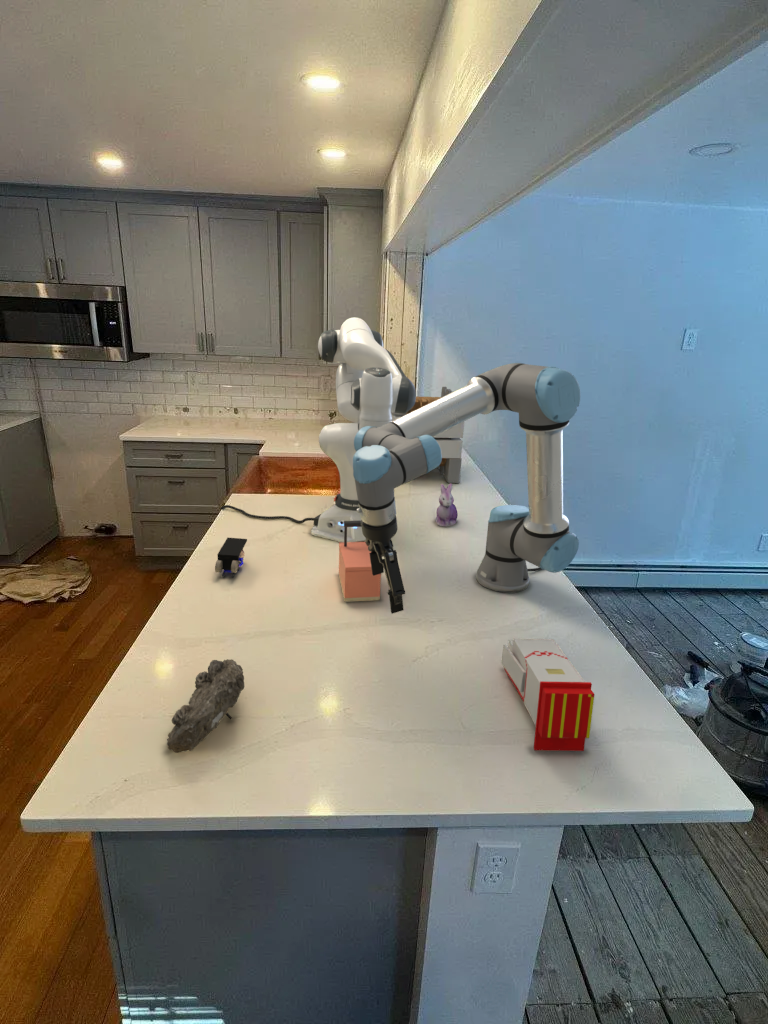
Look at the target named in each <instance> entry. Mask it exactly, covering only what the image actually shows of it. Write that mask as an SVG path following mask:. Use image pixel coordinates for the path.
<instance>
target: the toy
mask: <svg viewBox="0 0 768 1024" xmlns="http://www.w3.org/2000/svg"><path fill="white" fill-rule="evenodd" d="M500 661H501V662H500V663H501V664H502V666H503V668H504V671H505V673H506V674H507V676H508V678H509V679H510V681H511V684H512V685H513V686H514V688H515V691H517V693H518V695H519V696H520V699H521V700H522V702H523V704H524V706H525V708H526V711H527V712H528V714H529V716H530V718H531V720H532V723H533V724H534V726H535V731H534V741H533V750H534V751H554V752H555V751H556V752H557V751H558V752H564V751H565V752H584V751H585V743H586V739H590V737H591V736H590V735H591V727H592V718H593V710H594V702H595V692H593V690H592V685H593V684H592V682H590V681H585V679H584V678H583V676H582V675H581V674H580V673H579V672H578V670H577V669H576V668H575V666H574V665H573V663H572V662H571V661H570V659H569V658H568V657H567V655H566V654H565V653H564V651H563V650H562V649H561V648H560V646H559V644H558V643H557V642H556V640H554V638H517V637H515V638H512V639H508V643H507V644H503V647H502V653H501V660H500Z"/></svg>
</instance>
